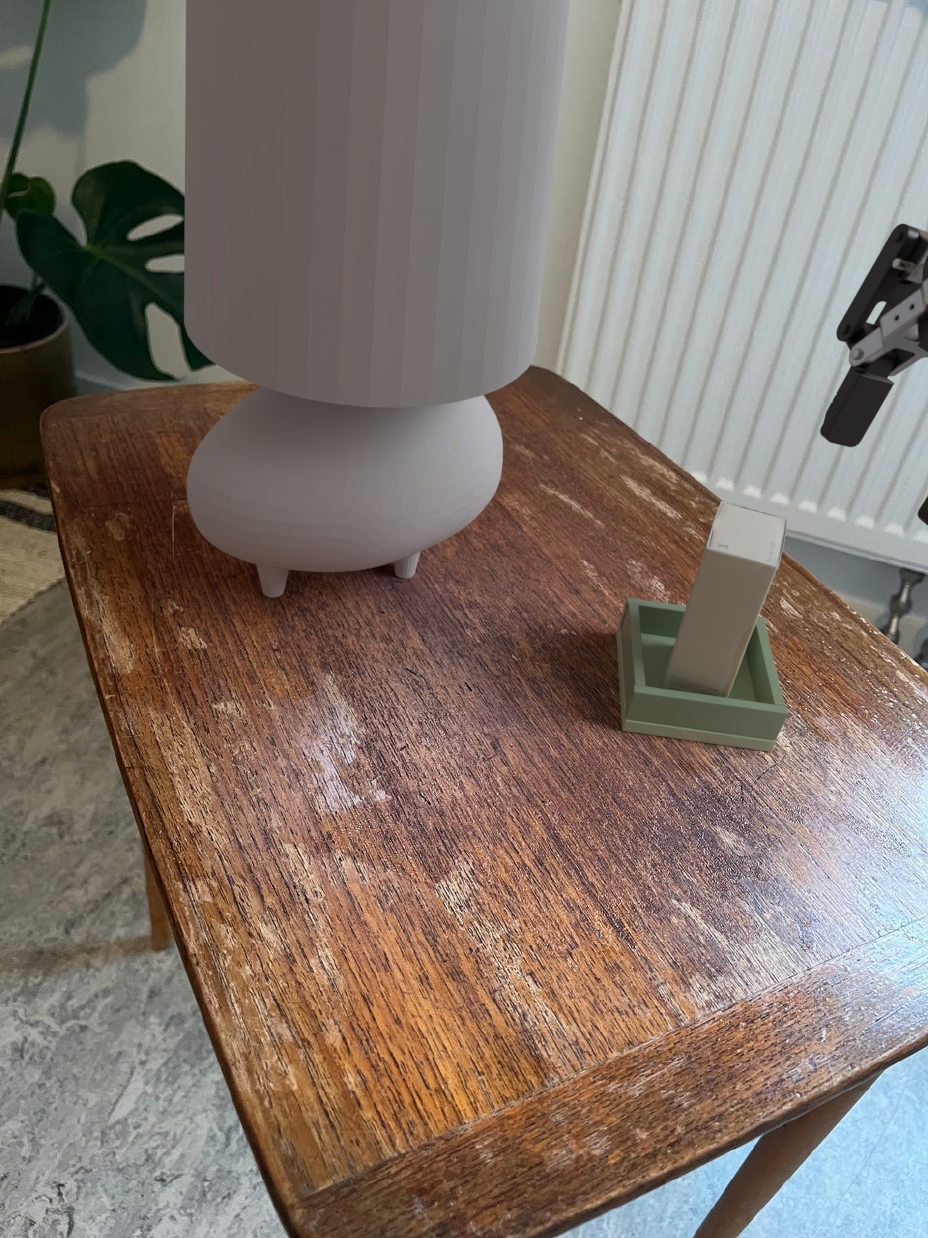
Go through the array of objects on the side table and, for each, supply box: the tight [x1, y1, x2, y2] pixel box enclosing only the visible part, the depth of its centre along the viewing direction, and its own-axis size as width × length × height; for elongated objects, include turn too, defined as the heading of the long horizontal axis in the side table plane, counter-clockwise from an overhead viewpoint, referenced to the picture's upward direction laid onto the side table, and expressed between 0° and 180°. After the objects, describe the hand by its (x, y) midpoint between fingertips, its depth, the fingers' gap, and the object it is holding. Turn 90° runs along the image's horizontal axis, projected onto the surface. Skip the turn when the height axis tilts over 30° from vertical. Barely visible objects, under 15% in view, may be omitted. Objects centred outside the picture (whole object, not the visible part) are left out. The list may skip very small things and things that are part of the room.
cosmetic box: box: [661, 500, 788, 698], centre depth 61 cm, size 6×4×12 cm
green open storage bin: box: [615, 597, 789, 753], centre depth 65 cm, size 10×10×4 cm
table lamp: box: [183, 0, 571, 598], centre depth 59 cm, size 23×22×40 cm
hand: (883, 481), depth 47 cm, fingers open, 8 cm apart
